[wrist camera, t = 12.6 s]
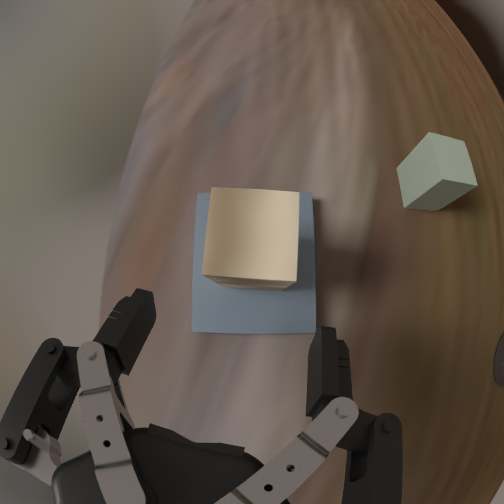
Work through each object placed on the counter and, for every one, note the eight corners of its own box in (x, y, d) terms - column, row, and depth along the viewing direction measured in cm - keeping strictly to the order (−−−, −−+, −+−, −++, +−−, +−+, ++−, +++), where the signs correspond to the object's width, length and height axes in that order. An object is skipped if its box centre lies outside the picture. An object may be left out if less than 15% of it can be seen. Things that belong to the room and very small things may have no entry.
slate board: (309, 198, 27) (311, 193, 26) (312, 331, 25) (315, 332, 24) (200, 198, 28) (197, 193, 26) (195, 330, 25) (191, 331, 24)
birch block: (283, 235, 25) (299, 192, 15) (281, 291, 24) (296, 281, 14) (228, 232, 25) (211, 187, 16) (224, 287, 24) (201, 274, 15)
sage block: (429, 172, 28) (464, 141, 20) (437, 211, 27) (477, 185, 19) (396, 168, 28) (428, 132, 20) (403, 208, 27) (442, 179, 19)
